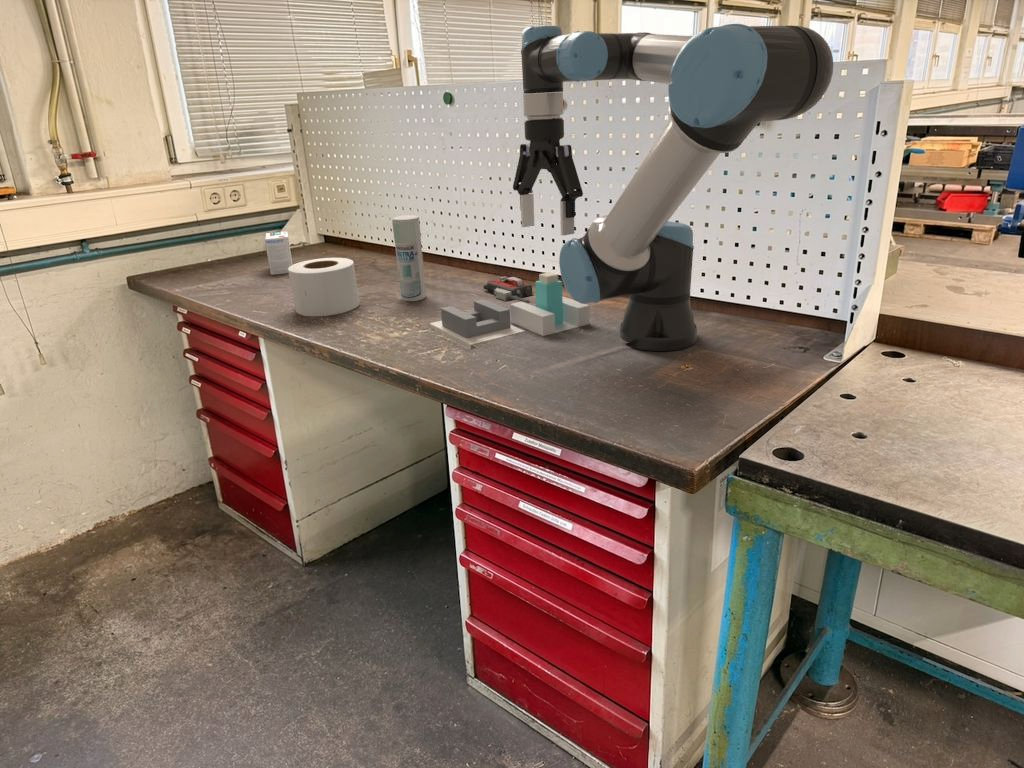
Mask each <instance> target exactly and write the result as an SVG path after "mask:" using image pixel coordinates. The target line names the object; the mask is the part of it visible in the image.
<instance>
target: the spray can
mask: <svg viewBox="0 0 1024 768" xmlns="http://www.w3.org/2000/svg"><path fill="white" fill-rule="evenodd" d="M391 221H392V222H391V223H392V230H393V239H394V246H395V255H396V258H395V259H396V263H397V264H396V265H397V275H398V282H399V291H400V298H401V300H402V301H405V302H416V301H421V300H424V299H425V298H426V297H427V293H426V282H425V271H424V270H425V269H424V260H423V258H424V257H423V249H422V236H421V227H420V225H421V224H420V216H419V215H412V214H410V215H409V214H407V215H398V216H394V217H392V218H391Z"/></svg>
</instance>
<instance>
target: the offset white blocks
mask: <svg viewBox="0 0 1024 768" xmlns="http://www.w3.org/2000/svg"><path fill="white" fill-rule="evenodd" d="M562 297H563V323H562V324H558V325H555V314H554V313H551V312H548V311H546V310H543V309H540V308H538V307H536V305H532V304H530V303H525V302H522V301H518V302H517V301H516V302H513V303H510V304H509V309H510V324H514V325H517V326H519V327H521V328H523V329H526V330H528V331H531V332H533V333H535V334H538V335H540V336H543V337H545V336H549V335H552V334H556V333H560V332H563V331H567V330H571V329H576V328H580V327H583V326H588V325H590V322H591V321H590V317H591V316H590V314H591V313H590V309H591V308H590V305H589V304H588V303H587V304H582V303H579V302H577V301H575V300H574V299H573V298H569V297H565V296H563V295H562Z"/></svg>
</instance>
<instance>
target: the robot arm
mask: <svg viewBox="0 0 1024 768" xmlns="http://www.w3.org/2000/svg"><path fill="white" fill-rule="evenodd" d="M520 55H521V72H522V73H521V75H522V89H523V90H522V91H523V95H522V96H523V97H522V98H523V116H524V117H526V120H525V121H524V123H523V125H524V138H525V141H530V142H529V143H522V144H520V146H519V157H518V162H517V166H516V172H515V176H514V180H513V184H512V189H513V191H514V192H515V191H517V194H518V195H519V201H520V203H519V204H520V205H519V207H520V215H521V216H520V218H521V228H530V227H535V205H534V203H535V202H534V200H535V199H534V191H533V188H534V186H535V184H536V181H537V179H538V176H539V174H540V172H541V171H542V170H547V172H548V173H550V175H551V177H552V178H553V181H554V183H555V185H556V187H557V189H558V191H559V194H560V195H561V199H560V200H559V201H560V202H559V205H560V206H559V207H560V236H564V237H565V236H569V235H574V234H575V217H576V200H577V199H579V198H580V197H581V198H582V197H583V195H584V193H583V189H582V185H581V182H580V179H579V178H580V177H579V176H578V173H577V172H578V171H577V168H576V166H575V162H574V159H573V151H572V150H573V149H572V145H571V144H563V145H561V142H560V141H561V140H562V139H564V138H565V120H564V119H563V118H562V117H561V116H563V115H564V83H565V82H566V83H571V82H576V83H577V82H588V81H589V82H590V81H608V80H609V81H611V80H632V81H633V80H634V81H641V82H652V83H659V84H666V85H668V86H667V88H668V89H667V90H668V101H669V102H668V113H669V116H670V120H669V121H668V123H667V124H666V125H665V127H664V128H663V130H662V132H661V134H660V135H659V136H658V138H657V140H656V141H655V142H654V144H653V146H652V147H651V149H650V150H649V152H648V153H647V155H646V156H645V158H644V159H643V160H642V162H641V164H640V166H639V167H638V168H637V170H636V172H635V173H634V175H633V176H632V178H631V180H630V181H629V183H628V184H627V186H626V187H625V189H624V190H623V192H622V193H621V195H620V196H619V198H618V199H617V201H616V203H615V204H614V206H613V207H612V208H611V210H610V212H609V213H608V214H606V215H602V216H600V217H598V218H596V219H595V220H594V221H593V222H592V223H591V225H590V226H589V228H588V229H587V231H586V232H585V233H584V235H583V236H582V237H579V238H573V237H572V239H570V240H567V241H565V242H564V243H563V245H562V246H561V249H560V251H559V258H558V260H559V262H558V264H559V270H560V277H561V281H562V284H563V285H564V288H565V289H566V291H567V293H568V294H569V296H570V297H571V299H572V300H575V301H577V302H579V303H582V304H587V305H588V304H592V303H593V304H598V303H600V302H603V301H604V302H605V301H608V300H612V299H613V300H614V299H617V298H623V297H626V296H628V303H627V306H626V309H625V313H624V314H623V315H624V316H623V320H622V322H621V323H620V326H619V337H620V338H621V339H622V340H624V341H625V342H626V343H624V345H626V346H628V347H631V348H634V349H636V350H637V349H638V350H643V351H651V352H652V351H653V352H668V351H669V352H671V351H678V350H683V349H686V348H689V347H691V346H693V345H694V344H696V342H697V341H698V326H697V324H696V323H695V319H694V313H693V309H692V304H691V286H692V273H693V272H692V271H693V257H694V249H695V246H694V232H693V229H692V227H691V226H690V225H688V224H685V223H683V222H677V221H669V220H670V219H671V218H672V216H673V215H674V214H675V212H676V211H677V210H678V208H679V207H680V206H681V205H682V203H683V202H684V201H685V199H686V198H687V197H688V196H689V194H690V193H691V192H692V190H694V188H695V186H696V185H697V184H698V183H699V181H701V179H702V177H703V176H704V175H705V174H706V172H707V171H708V169H709V168H710V167H711V166H712V165H713V163H714V162H715V161H716V160H717V158H718V157H719V156H720V154H727V153H731V152H734V151H735V150H737V149H739V147H740V146H741V145H742V143H743V142H744V141H745V140H746V139H747V137H748V136H749V135H750V134H751V132H753V130H754V129H755V127H756V126H758V125H759V124H760V123H762V122H772V121H783V120H789V119H793V118H797V117H798V116H800V115H802V114H804V113H806V112H808V111H810V109H812V108H814V106H816V104H818V102H819V101H820V100H822V98H823V96H824V95H825V94H826V92H827V90H828V88H829V87H830V84H831V82H832V78H833V74H834V58H833V53H832V50H831V47H830V46H829V44H828V42H827V41H826V40H825V38H824V37H823V36H822V35H821V34H820V33H818V32H817V31H815V30H814V29H811V28H809V27H806V26H805V27H804V26H801V25H747V24H741V23H729V24H725V25H721V26H713V27H708V28H706V29H703V30H701V31H699V32H698V33H696V34H694V35H678V34H677V35H676V34H674V35H673V34H657V33H651V32H629V33H627V32H626V33H625V32H622V33H618V32H617V33H611V32H609V33H608V32H607V33H606V32H605V33H603V32H600V33H597V32H594V31H591V30H590V31H588V30H587V31H585V30H583V31H580V30H577V31H573V32H572V33H568V34H564V35H563V31H562V28H561V26H558V25H536V26H529V27H526V28H524V30H522V33H521V49H520Z"/></svg>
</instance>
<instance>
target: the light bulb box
mask: <svg viewBox="0 0 1024 768" xmlns="http://www.w3.org/2000/svg"><path fill="white" fill-rule="evenodd" d="M264 235H265V237H264V243H265V249H266V255H267V260H268V266H269V271H270V272H269V273H270V275H271V276H273V275H283V274H289V272H288V268H289V267H290V266H292V265H294V264H293V260H292V252H291V245H290V239H289V234H288V231H277V232H267V233H266V232H265V233H264Z"/></svg>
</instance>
